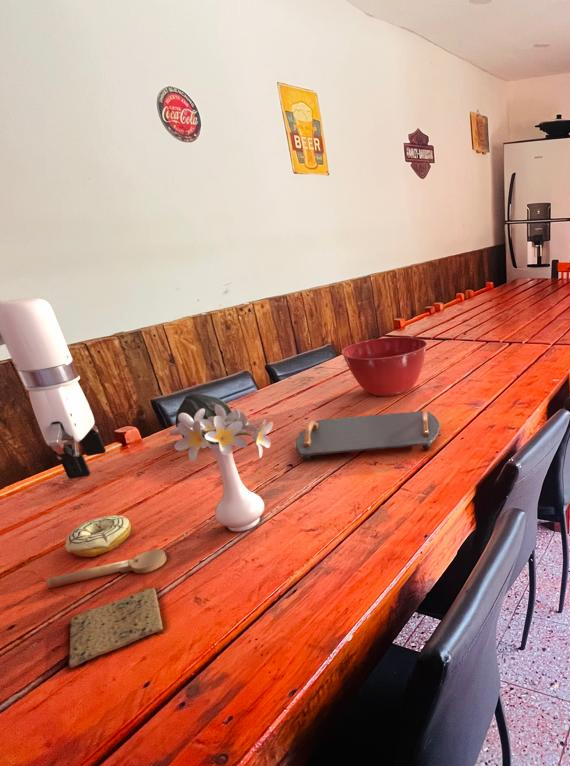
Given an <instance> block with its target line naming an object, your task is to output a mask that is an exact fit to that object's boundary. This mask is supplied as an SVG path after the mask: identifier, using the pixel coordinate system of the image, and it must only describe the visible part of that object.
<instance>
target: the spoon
mask: <svg viewBox="0 0 570 766" xmlns="http://www.w3.org/2000/svg"><path fill="white" fill-rule="evenodd" d="M166 561H167V555H166V553H165V551H164V549H163V550H162V549H159V548H158V549H157V548H156V549H150V550H147V551H144V552H142V553H141V552H140V554H138V555H136V556H135V557H134V558H130V559H124V560H120V561H116V562H112V563H107V564H102V565H99V566H95V567H94V566H93V567H91V568H86V569H81V570H77V571H74V572H70V573H65V574H60V575H56V576H51V577H49V578H48V579H46V581H45V586H46V587H47V588H50V589H53V588H57V587H62V586H65V585H70V584H75V583H79V582H83V581H87V580H91V579H95V578H99V577H103V576H107V575H111V574H116V573H119V572H120V574H123V573H128V572H131V571H132V572H133V573H134V574H147V573H150V572H153V571H155V570H157V569H159V568H161V567H163V565H164V564H166Z"/></svg>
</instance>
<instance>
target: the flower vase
mask: <svg viewBox="0 0 570 766" xmlns="http://www.w3.org/2000/svg"><path fill="white" fill-rule="evenodd" d="M232 406H233V409H234V411H232V412H231V413H230V414H229V415H228V416H226V413H225V410H224V409H223V408H222V407H221V406H220V405H218V404H217V405H215V412H216V415H217V416H215V417H208V420H206V419H203V416H204V413H205V409H200V410H199V411H198V412H197V413H196V414H195V416H194V420H193V419H192V418H191V417H190V416H189V415H188V414H186V413H180V414H179V415H178V420H179V421H180V423H178V425H177V426H178V427H177V428H176V427H174V428H173V429H171V430H170V432H169V435H170V436H179V435H181V434H182V435H183V436H184V438H181V439H179V440H178V441H176V442H175V444H174V450H175V451H177V452H181V451H186V450H187V449H188V450H189V451H188V458H189V461H191V462H195V461H196V459H197V458H198V453H199V450H200V449H206V448H207V447H208V448H209V449H210V450H211V453H212V454H213V456H214V459H215V460H216V461H215V462H216V463H217V466H218V469H219V474H220V477H221V481H222V496H221V499H220V500H219V501H218V503H217V505H216V507H215V511H214V517H215V520H216V521H217V522H218V523H219V524H220V525H222V526H224V527H226V528H227V529H228V530H229V531H232V532H244V531H248V530H250V529H252V528H254V527H255V526H257V525H258V524H259V523H260V520H261V516H262V515H263V513H264V511H265V507H266V506H265V502H264V499H262V497H261V496H260V495H258V494H257V493H256V492H253V491H251V490H249V489H248V488H247V487H246V486H245V484H244V482H243V481H242V479H241V477H240V475H239V471H238V468H237V466H236V463H235V460H234V454H233V453H234V452H233V446H234V447H237V448H247V446H248V442H247V441H246V440H245V438H243V437H241V436H248V437H252V439H253V442H254V444H255V447H256V450H257V455H258V457H259V459H261V458H262V456H263V452H264V449H263V447H264V448H265V449H270V447H271V445H272V444H271V443H272V442H271V439H270V438H269V436H267V434H269V433H270V432H271V431H272V429H273V426H274V422H273V421H271V422H269V423H268V424H267V419H266V418H265V419H264V420H263V421H262V423H261V424H260V425H259V427H257V426H255V425H253V424H251V423H249V419H248V417H247V415H246V414H245V413H244V412H243V411H241V410H238V408H236V407H235V405H232ZM194 421H195V422H194ZM202 432H205V433H206V434H204V433H202ZM250 432H252V433H250ZM182 435H181V436H182ZM202 435H204V436H205V438H203V437H202ZM207 441H208V442H207Z"/></svg>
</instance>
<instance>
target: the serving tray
mask: <svg viewBox="0 0 570 766" xmlns="http://www.w3.org/2000/svg"><path fill="white" fill-rule="evenodd" d="M440 429H441V423H440V421H439V420H438V418H437V417H436V416H435V415H434V414H433V413H431V412H430V411H427V410H420V411H409V412H396V413H394V412H393V413H387V414H370V415H361V416H347V417H338V418H337V417H336V418H326V419H317V420H316V421H314V420H310V421H308V422H307V424H306V426H305V428H304V429H303V430H302V431H301V432H300V433H299V434H298V436H297V438H296V440H295V450H296V452H297V454H298V456H300V457H301V459H302V460H303V461H304V462H310V460H311V457H312V456H319V455H320V456H321V455H331V454H341V453H351V452H352V453H353V452H363V451H375V450H376V451H377V450H386V449H387V450H388V449H397V448H408V447H420V446H422V448H423V450H424V451H425V452H426V451H430V450H431V447H432V443H433V442H434V441H435V440H437V439H436V438H438V436H439V434H440V431H441V430H440Z"/></svg>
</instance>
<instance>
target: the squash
mask: <svg viewBox="0 0 570 766" xmlns="http://www.w3.org/2000/svg"><path fill="white" fill-rule="evenodd" d="M217 404H218V405H220V406H221V407H222V408H223V409H224V410H225V413H226V416H228V415H229V414H230V413H231V412H233V411H232V410H231V408H230V406H229V405H228V404H227V403H225V402H224V401H223V400H221V399H220V398H219V397H216V396H211V395H207V394H203V393H189V394H187V395H186V396H185V397H184V398H183V400H182V402H181V403H180V405H179V407H178V409H177V411H176V415H175V428H177V427H178V426H177V425H178V423H180V421H179V420H178V415H179V414H180V413H186V414H188V415H189V416H190V417H191V418H192V419H193V420H194V416H195V414H196V413H197V412H198V411H199V410H200V409H205V413H204V416H203V419H206V420H208V417H215V416H217V415H216V412H215V405H217ZM194 422H195V421H194ZM202 433H204V434H206V433H205V432H202ZM180 435H181V437H182V439H184V436H183V435H182V434H180ZM202 437H203V438H205V436H204V435H202ZM207 442H208V441H207Z"/></svg>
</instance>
